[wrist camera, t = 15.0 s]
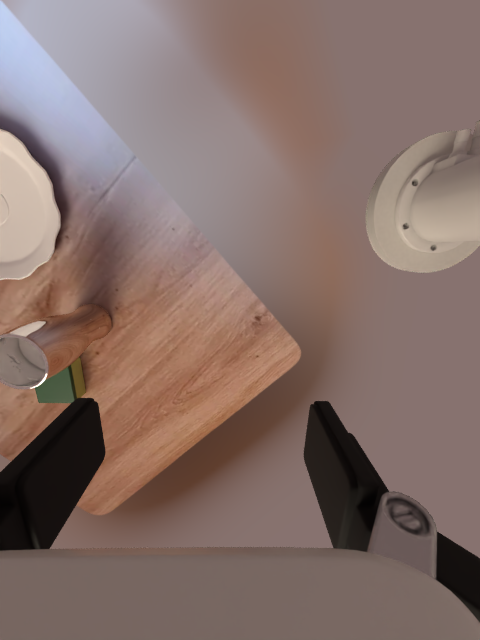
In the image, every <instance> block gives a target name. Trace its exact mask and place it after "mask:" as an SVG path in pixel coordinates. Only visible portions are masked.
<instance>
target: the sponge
mask: <svg viewBox="0 0 480 640" xmlns="http://www.w3.org/2000/svg"><path fill="white" fill-rule="evenodd" d="M35 390H36V394H37V398H38V402H39V403H72V402H73V401H74V400H76V399H77V398H81V397H82V396H83V395H84V394H85V393H86V389H85V383H84V377H83V371H82V365H81V360H80V357H79V358H78V359H77V360H76V361H75V362H73V363H72V364H71V365H70V366H68V367H67V368H66V369H64V370H63V371H61V372H60V373H58V374H57V375H55V376H53V377H52V378H50V379H48V380H47V381H45V382H43V383H42V384H40V385H39V386H37V387H35Z"/></svg>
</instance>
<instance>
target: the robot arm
mask: <svg viewBox="0 0 480 640" xmlns="http://www.w3.org/2000/svg"><path fill="white" fill-rule="evenodd" d="M470 132H471V129H464V130H461V131H458V132H457V133H456V137H455V141H454V148H453V152H452V153H451V154H449V155H444V156H440V157H437V158H435V159H433V160H431V161H428V162H427V163H425V164H423V165H422V166H420V167H419V168H418V169H417V170H416V171H415V172H414V173H412V174H411V176H410V177H409V178H408V179H407V181H406V182H405V184H404V185H403V187H402V189H401V191H400V193H399V196H398V198H397V201H396V206H395V225H396V229H397V231H398V234H399V236H400V238H401V239H402V241H403V242H404V243H405V244H406V245H407V246H408V247H410V248H412V249H414V250H416V251H419V252H423V253H440V252H445V251H448V250H450V249H453V248H455V247H457V246H458V245H460V244H462V243H463V242H464V241H480V120H479V121H478V122H477V123H476V126H475V130H474V134H473V137H472V140H473V141H472V145H471V148H470V151H465V149H466V146H467V143H468V140H469V137H470ZM104 457H105V445H104V439H103V432H102V426H101V420H100V413H99V407H98V403H97V402H95V401H94V399H93V398H77V399H76V400H74V401H73V402H72V403H71V404H70V405H69V406H68V407H67V408H66V409H65V410H64V411H63V412H62V413H61V414H60V415H59V416H58V417H57V418H56V419H55V420H54V421H53V422H52V423H51V424H50V425H49V426H48V427H47V428H46V429H45V430H43V431H42V432H41V433H40V434H39V435H38V436H37V437H36V438H35V439H34V440H33V441H32V442H31V443H30V444H29V445H28V446H27V447H26V448H25V449H24V450H23V451H22V452H21V453H20V454H19V455H18V456H17V457H16V458H15V459H14V460H12V461H11V462H10V463H9V464H8V465H7V466H6V467H5V468H4V469H3V470H2V471H1V472H0V640H480V558H478V557H477V556H475V555H474V554H472V553H470V552H469V551H467V550H465V549H464V548H463V547H461V546H459V545H458V544H456V543H454V542H453V541H451V540H450V539H448V538H447V537H445V536H443V535H442V534H440V533H439V532H437V528H436V524H435V522H434V520H433V518H432V516H431V515H430V514H429V512H428V511H427V510H426V509H425V508H424V507H423V506H422V505H421V504H420V503H419V502H417V501H416V500H414V499H413V498H411V497H410V496H407V495H405V494H402V493H399V492H389V491H388V489H387V487H386V486H385V484H384V483H383V481H382V479H381V478H380V476H379V475H378V473H377V472H376V470H375V468H374V467H373V465H372V464H371V462H370V461H369V459H368V458H367V456H366V454H365V453H364V451H363V450H362V448H361V447H360V445H359V443H358V442H357V440H356V439H355V437H354V436H353V435H352V434H351V433H348V432H347V430H346V429H345V427H344V425H343V424H342V422H341V421H340V419H339V417H338V416H337V414H336V413H335V411H334V409H333V408H332V406H331V404H330V403H329V402H328V401H315V402H314V404H311V405H310V410H309V418H308V425H307V432H306V441H305V448H304V460H305V464H306V467H307V470H308V473H309V476H310V479H311V482H312V485H313V488H314V491H315V494H316V497H317V500H318V503H319V506H320V509H321V512H322V515H323V518H324V521H325V524H326V527H327V530H328V533H329V536H330V539H331V542H332V545H333V548H294V547H207V548H206V547H205V548H203V547H200V548H199V547H197V548H93V549H92V548H90V549H49V548H50V547H51V545H52V544H53V542H54V540H55V539H56V537H57V536H58V533H59V532H60V530H61V529H62V527H63V526H64V524H65V522H66V521H67V519H68V517H69V516H70V514H71V512H72V511H73V509H74V508H75V506H76V504H77V503H78V501H79V499H80V498H81V496H82V494H83V493H84V491H85V490H86V488H87V486H88V485H89V483H90V481H91V480H92V478H93V476H94V475H95V473H96V471H97V470H98V468H99V467H100V465H101V463H102V462H103V460H104Z"/></svg>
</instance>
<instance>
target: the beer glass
mask: <svg viewBox="0 0 480 640" xmlns="http://www.w3.org/2000/svg"><path fill="white" fill-rule="evenodd" d="M111 327H112V321H111V318H110V315H109V314H108V312H107V311H106V310H105V309H103V308H102V307H100V306H98V305H95V304H85V305H82V306H80V307H78V308H77V309H76V310H75V311H73V312H72V313H69V314H63V315H56V316H49V317H45V318H40V319H37V320H34V321H31V322H28V323H25V324H23V325H20V326H18V327H16V328H14V329H12V330H10V331H8V332H6V333H4V334H2V335H0V382H1V383H3V384H5V385H7V386H9V387H12V388H16V389H31V388H35V387H37V386H39V385H40V384H42V383H43V382H45V381H47V380H48V379H50V378H52V377H53V376H55V375H57V374H58V373H60V372H61V371H63V370H64V369H66V368H67V367H68V366H70V365H71V364H72V363H73V362H75V361H76V360H77V359H78V358H79V357H80V355H81V354H82V353H83V352H84V351H85V350H86V348H87V347H88V346H89V345H90V344H91V343H92V342H93V341H95V340H99V339H101V338H103V337H105V336H106V335H108V333H109V332H110V330H111Z"/></svg>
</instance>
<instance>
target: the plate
mask: <svg viewBox="0 0 480 640" xmlns="http://www.w3.org/2000/svg"><path fill="white" fill-rule="evenodd" d="M60 228H61V214H60V211H59V209H58V206H57V204H56V201H55V197H54V190H53V184H52V182H51V180H50V178H49V176H48V174H47V172H46V170H45V169H44V168H43V167H42V166H41V165H40V164H39V163H38V162H37V161H36V160H35V159H34V158H33V157H32V155H31V154H30V152H29V151H28V149H27V148H26V146H25V145H24V143H23V142H22V141H20V140H19V139H18V138H17V137H16V136H14V135H13V134H12V133H10V132H8V131H5V130H2V129H0V280H3V279H17V280H20V279H23V278H26V277H28V276H30V275H31V274H32V273H33V272H34V271H35V270H36V269H37V268H38V267H39V266H41V265H42V264H44V263H46V262H48V261H49V260H50V258H51V256H52V255H53V253H54V250H55V241H56V237H57V235H58V232H59V230H60Z"/></svg>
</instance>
